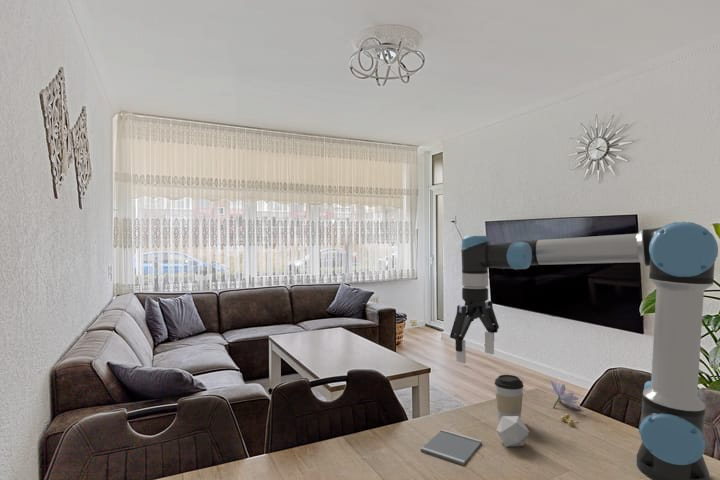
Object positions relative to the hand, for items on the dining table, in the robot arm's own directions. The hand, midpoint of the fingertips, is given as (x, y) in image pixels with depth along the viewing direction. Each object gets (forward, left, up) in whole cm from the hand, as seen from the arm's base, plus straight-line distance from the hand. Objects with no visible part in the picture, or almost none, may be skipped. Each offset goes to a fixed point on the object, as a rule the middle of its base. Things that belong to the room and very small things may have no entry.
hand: (475, 357), depth 125 cm
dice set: (-20, -30, -26) cm, 44 cm away
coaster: (+5, +8, -25) cm, 27 cm away
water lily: (-17, -42, -26) cm, 52 cm away
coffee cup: (-4, -18, -26) cm, 32 cm away
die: (-9, -4, -26) cm, 28 cm away
